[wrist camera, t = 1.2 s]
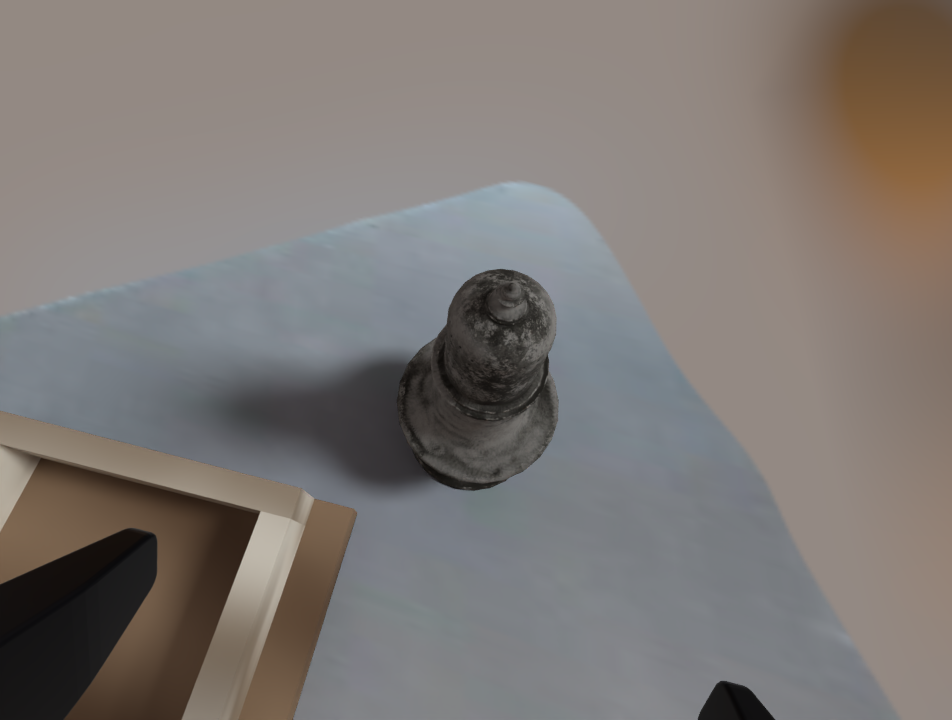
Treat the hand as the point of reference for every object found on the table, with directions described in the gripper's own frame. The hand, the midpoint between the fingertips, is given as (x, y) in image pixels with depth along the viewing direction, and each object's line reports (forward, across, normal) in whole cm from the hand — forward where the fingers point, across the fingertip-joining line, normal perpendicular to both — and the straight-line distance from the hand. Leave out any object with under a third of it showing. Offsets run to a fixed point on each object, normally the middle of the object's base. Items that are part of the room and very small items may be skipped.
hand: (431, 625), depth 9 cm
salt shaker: (+14, 0, +4) cm, 15 cm away
